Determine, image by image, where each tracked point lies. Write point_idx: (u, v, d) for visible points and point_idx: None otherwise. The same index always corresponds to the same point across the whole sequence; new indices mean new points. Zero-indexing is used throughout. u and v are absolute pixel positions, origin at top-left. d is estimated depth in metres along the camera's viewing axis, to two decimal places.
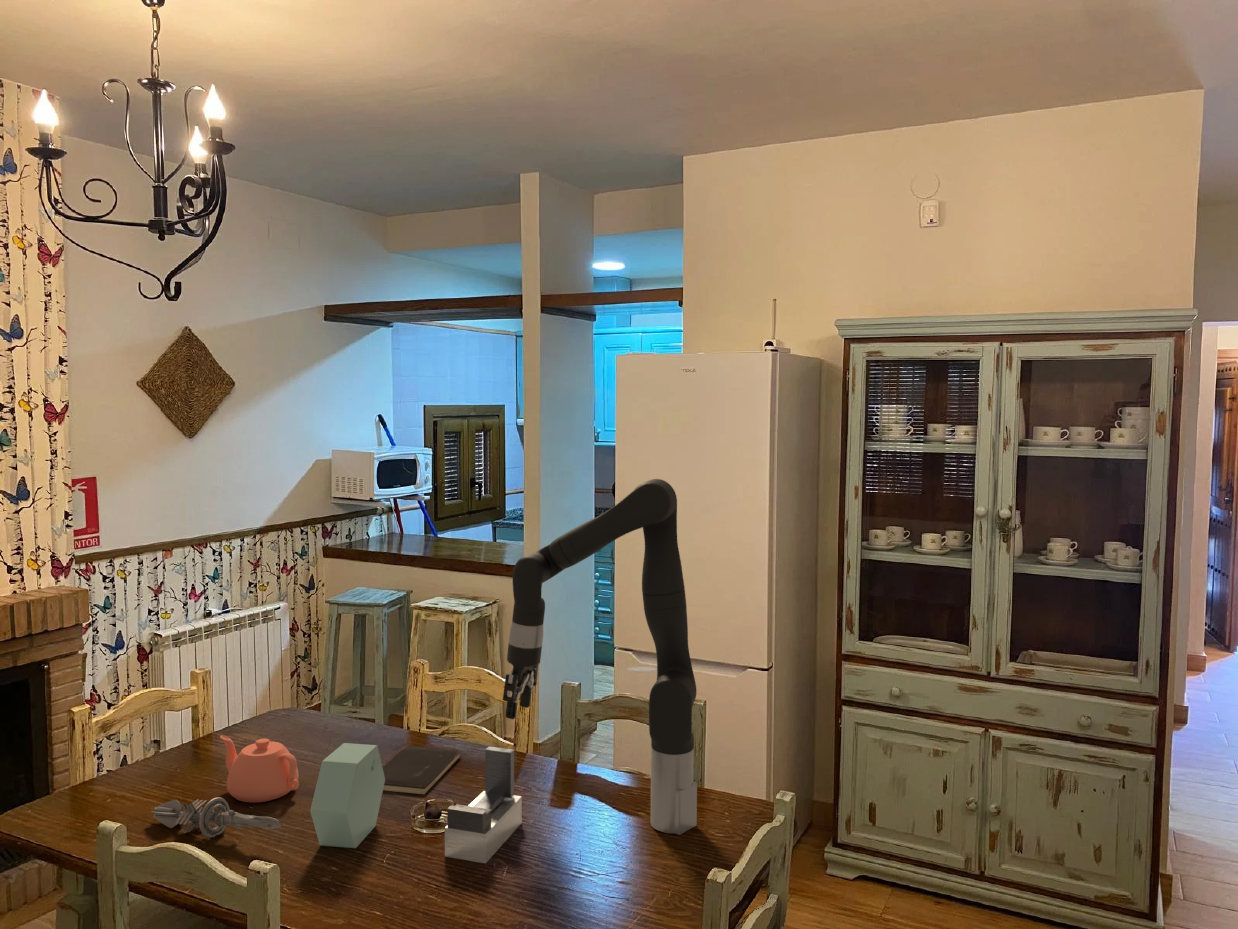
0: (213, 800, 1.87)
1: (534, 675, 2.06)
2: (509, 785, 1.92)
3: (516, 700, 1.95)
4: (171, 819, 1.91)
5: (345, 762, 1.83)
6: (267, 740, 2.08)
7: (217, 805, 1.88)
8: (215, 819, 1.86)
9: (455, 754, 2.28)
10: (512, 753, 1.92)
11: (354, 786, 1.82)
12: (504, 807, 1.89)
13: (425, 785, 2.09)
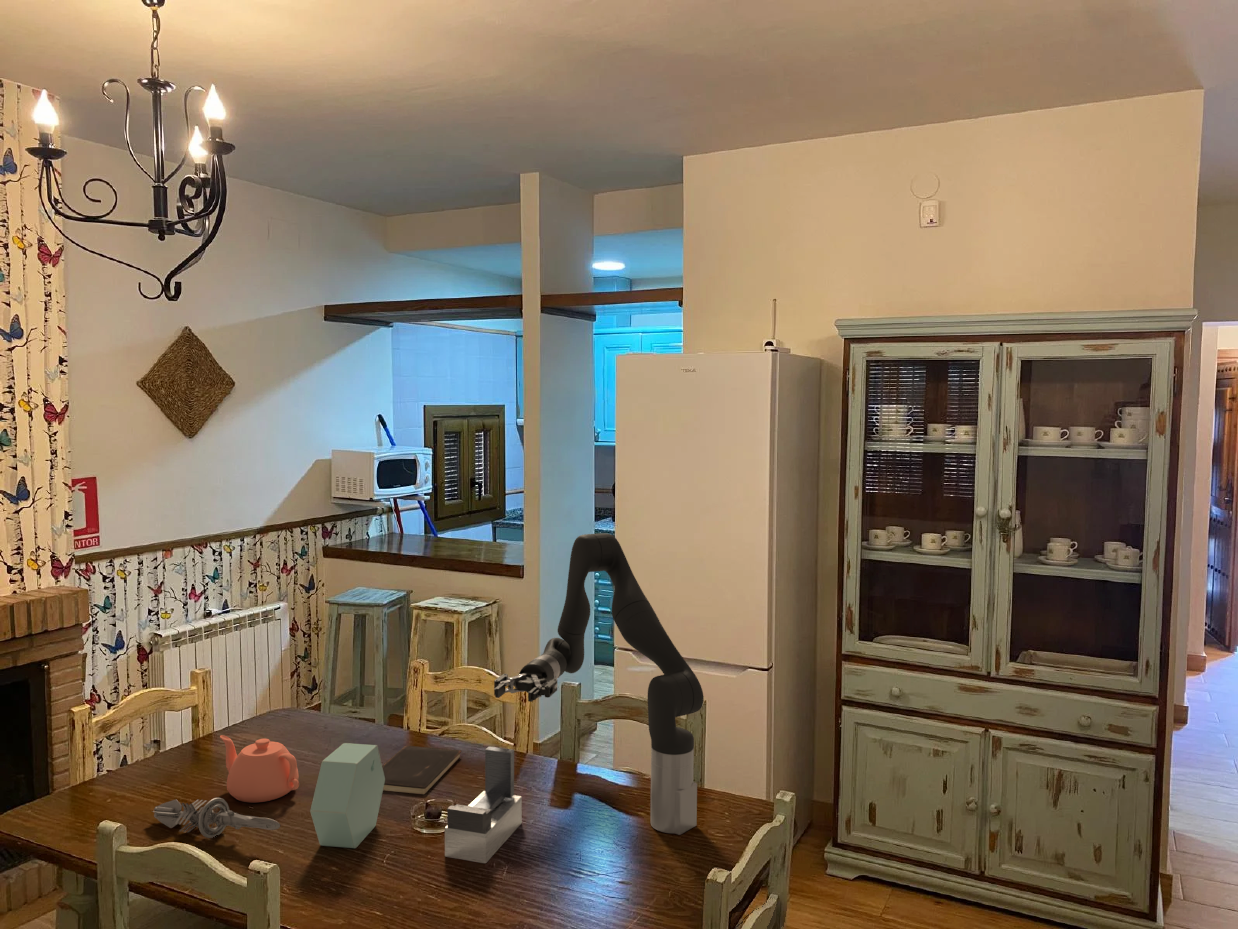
0: (212, 800, 1.87)
1: None
2: (509, 785, 1.92)
3: (501, 682, 2.05)
4: (171, 819, 1.91)
5: (345, 762, 1.83)
6: (267, 740, 2.08)
7: (216, 805, 1.87)
8: (214, 819, 1.86)
9: (455, 754, 2.28)
10: (512, 753, 1.92)
11: (354, 786, 1.82)
12: (504, 807, 1.89)
13: (425, 785, 2.09)
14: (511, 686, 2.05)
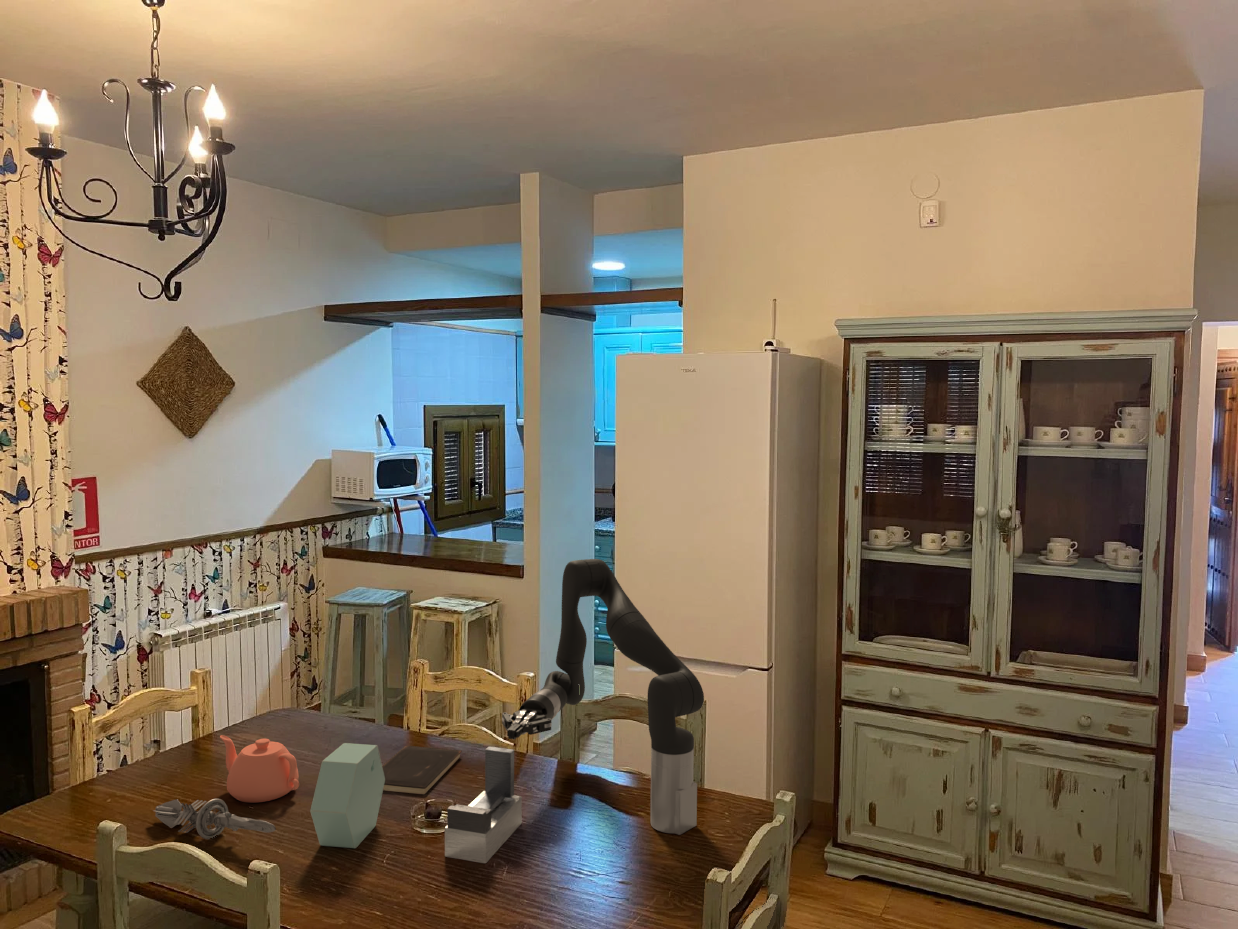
0: (211, 801, 1.87)
1: None
2: (509, 785, 1.92)
3: (514, 722, 2.04)
4: (172, 819, 1.91)
5: (345, 762, 1.83)
6: (267, 740, 2.08)
7: (215, 806, 1.87)
8: (212, 820, 1.86)
9: (455, 754, 2.28)
10: (512, 753, 1.92)
11: (354, 786, 1.82)
12: (504, 807, 1.89)
13: (425, 785, 2.09)
14: None
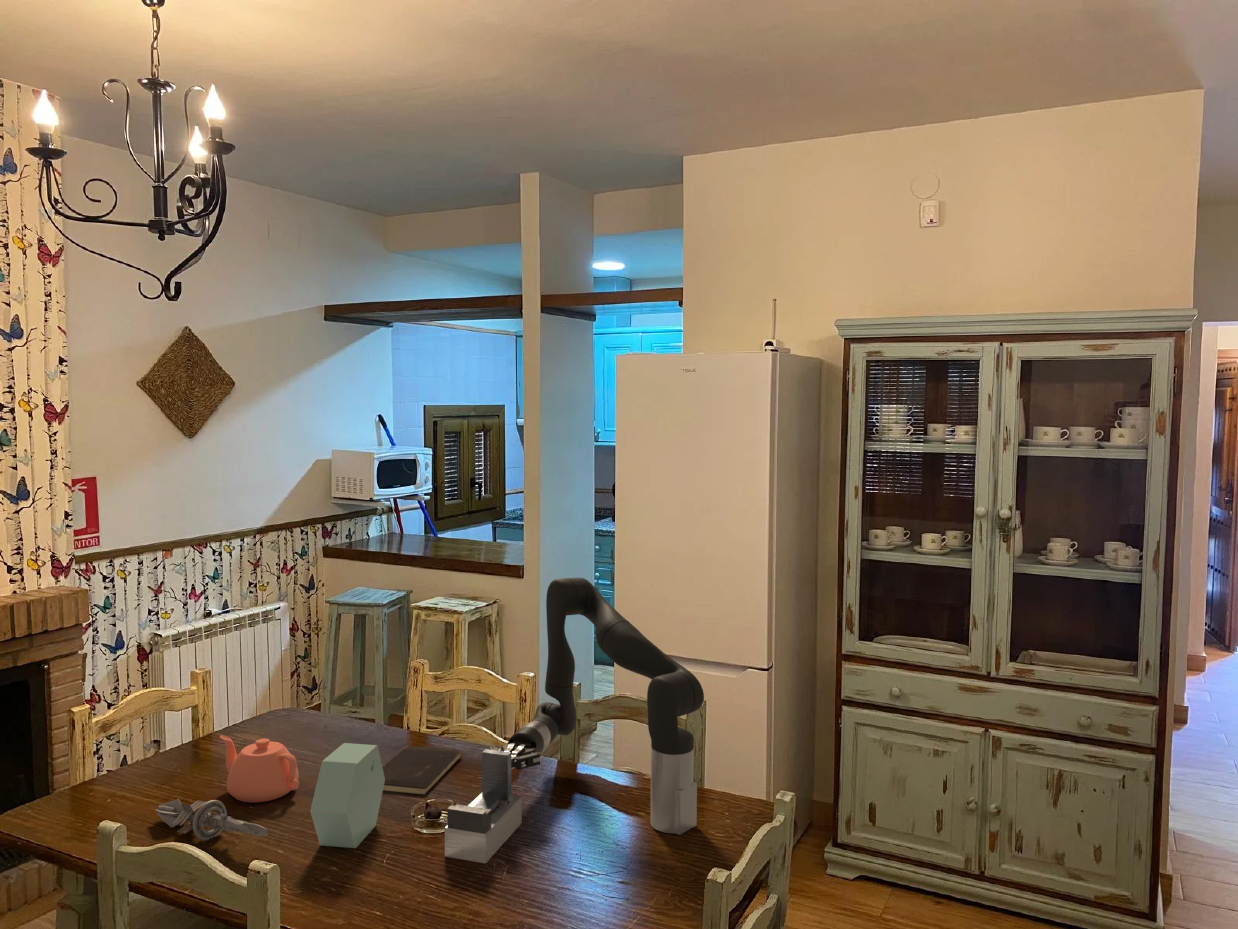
0: (208, 803, 1.86)
1: None
2: (506, 788, 1.91)
3: None
4: (172, 819, 1.91)
5: (345, 762, 1.83)
6: (267, 740, 2.08)
7: (212, 808, 1.86)
8: (209, 822, 1.85)
9: (456, 754, 2.28)
10: (509, 756, 1.91)
11: (354, 786, 1.82)
12: (504, 807, 1.89)
13: (425, 785, 2.09)
14: None
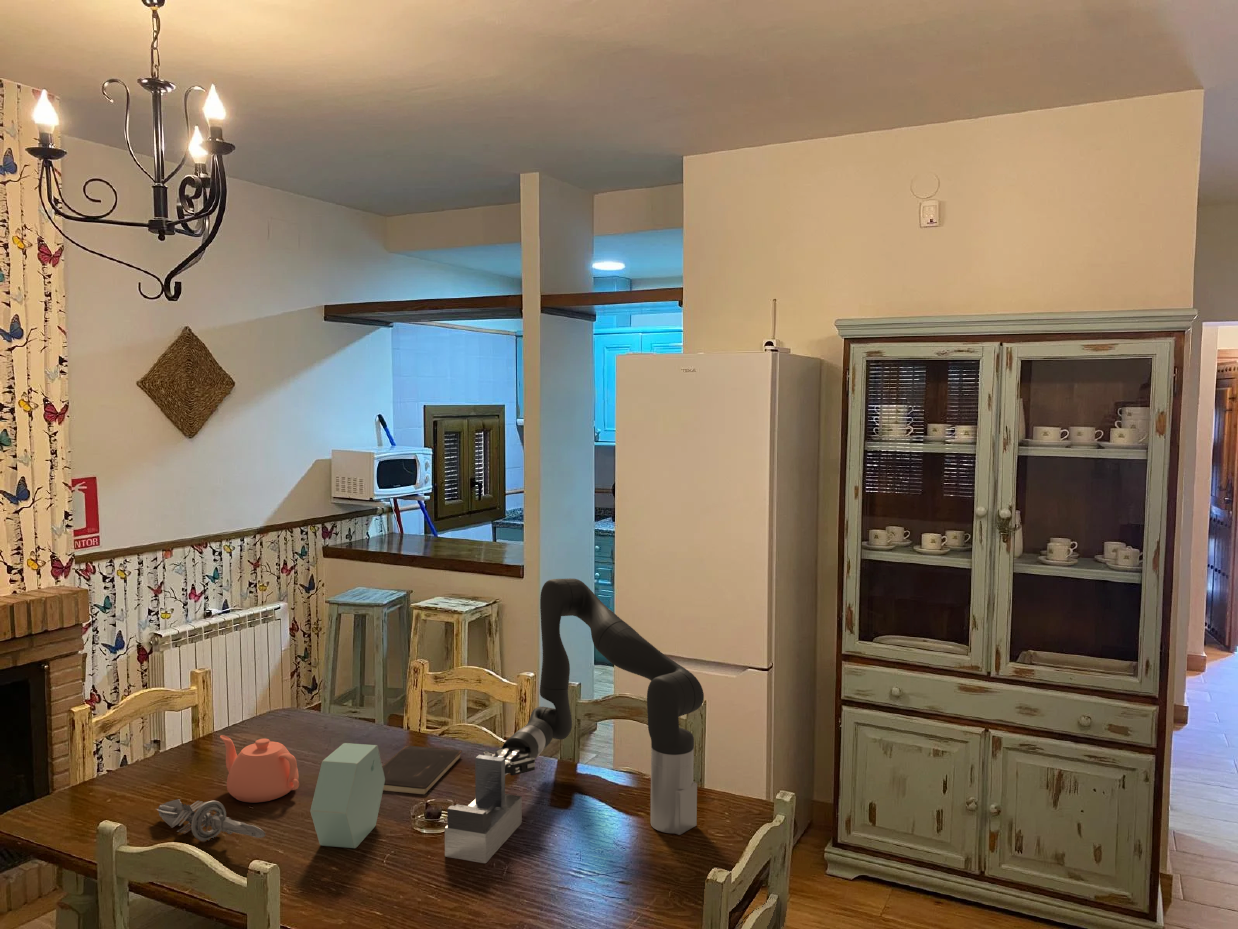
0: (207, 803, 1.86)
1: None
2: (499, 794, 1.87)
3: None
4: (173, 818, 1.91)
5: (345, 762, 1.83)
6: (267, 740, 2.08)
7: (211, 808, 1.86)
8: (208, 822, 1.85)
9: (456, 754, 2.28)
10: (503, 761, 1.88)
11: (354, 786, 1.82)
12: (504, 807, 1.89)
13: (425, 785, 2.09)
14: None
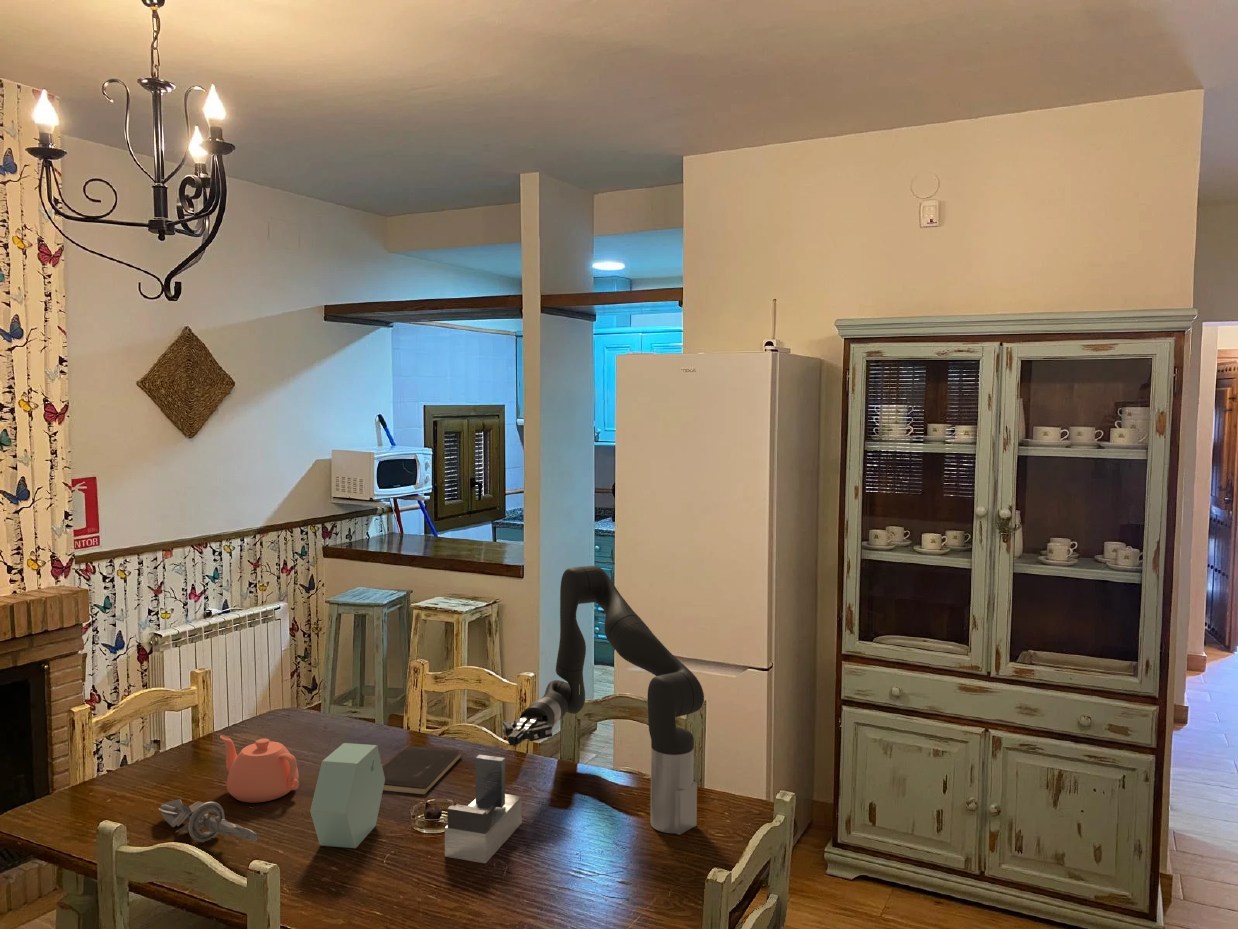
0: (205, 804, 1.85)
1: None
2: (499, 794, 1.88)
3: (515, 729, 2.03)
4: (173, 818, 1.92)
5: (345, 762, 1.83)
6: (267, 740, 2.08)
7: (209, 810, 1.85)
8: (205, 824, 1.84)
9: (456, 754, 2.28)
10: (503, 761, 1.88)
11: (354, 786, 1.82)
12: (504, 807, 1.89)
13: (425, 785, 2.09)
14: None
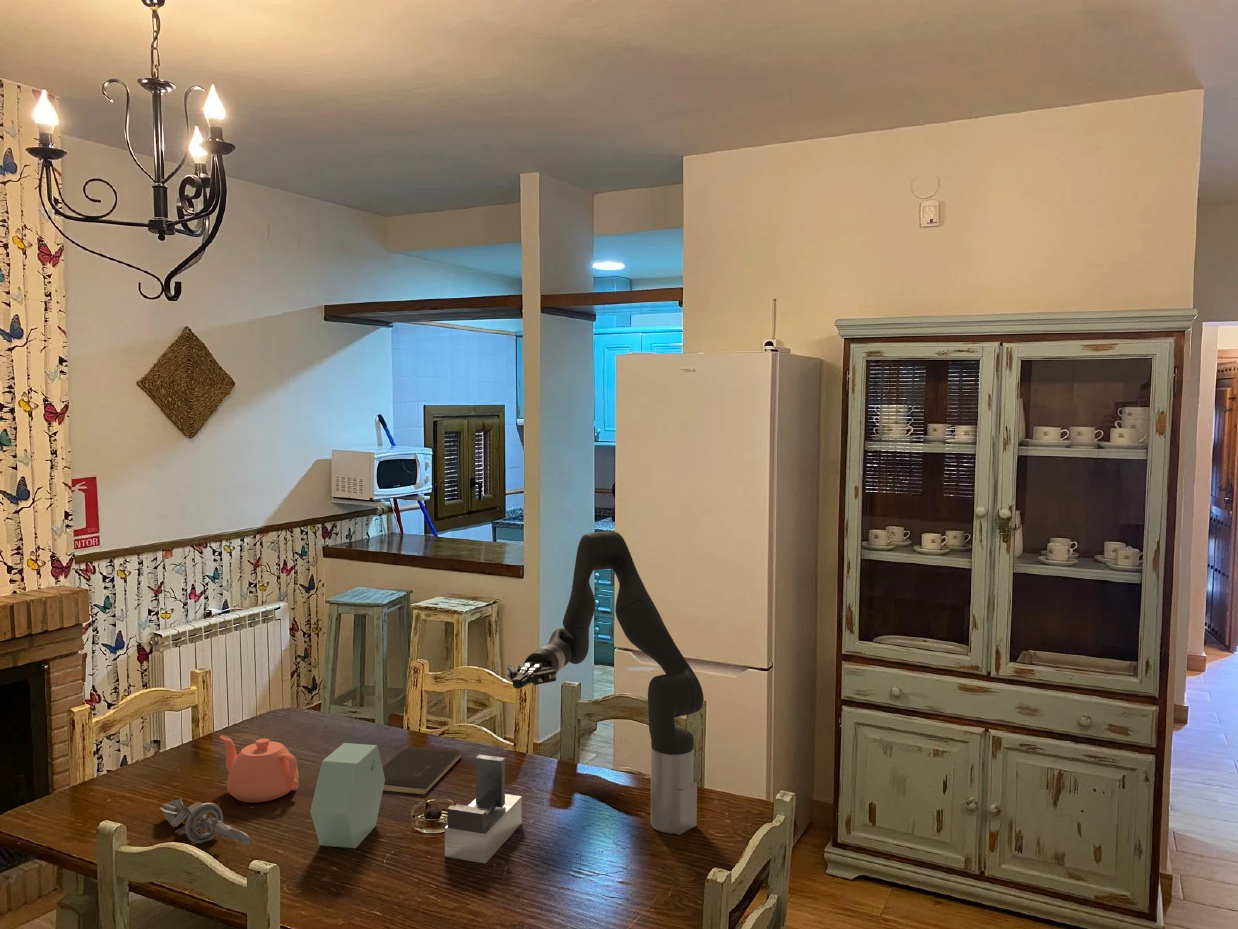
0: (203, 805, 1.85)
1: None
2: (499, 794, 1.88)
3: (519, 673, 2.06)
4: (174, 818, 1.92)
5: (345, 762, 1.83)
6: (267, 740, 2.08)
7: (207, 811, 1.85)
8: (203, 825, 1.84)
9: (456, 754, 2.28)
10: (503, 761, 1.88)
11: (354, 786, 1.82)
12: (504, 807, 1.89)
13: (425, 785, 2.09)
14: None
